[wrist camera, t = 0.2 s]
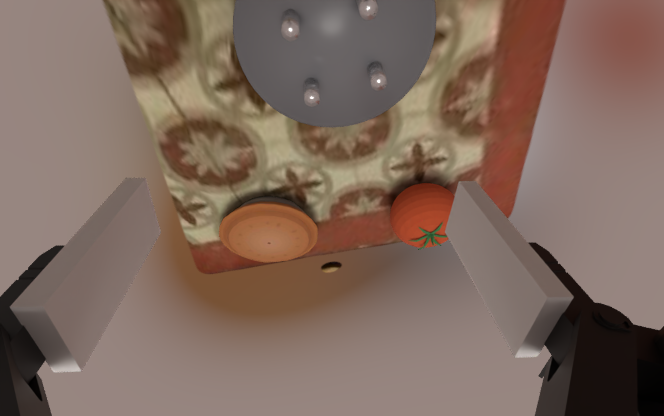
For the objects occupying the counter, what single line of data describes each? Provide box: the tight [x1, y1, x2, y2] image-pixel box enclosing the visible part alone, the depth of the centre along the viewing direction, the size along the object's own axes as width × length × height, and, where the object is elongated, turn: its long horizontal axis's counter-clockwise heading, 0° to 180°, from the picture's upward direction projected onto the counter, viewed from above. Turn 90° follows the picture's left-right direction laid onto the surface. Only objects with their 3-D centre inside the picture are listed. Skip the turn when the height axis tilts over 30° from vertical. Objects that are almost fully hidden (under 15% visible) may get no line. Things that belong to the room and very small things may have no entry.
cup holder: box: [233, 0, 436, 127], centre depth 35 cm, size 20×20×4 cm
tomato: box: [390, 183, 455, 250], centre depth 52 cm, size 10×10×10 cm
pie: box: [219, 196, 318, 262], centre depth 56 cm, size 15×16×5 cm
